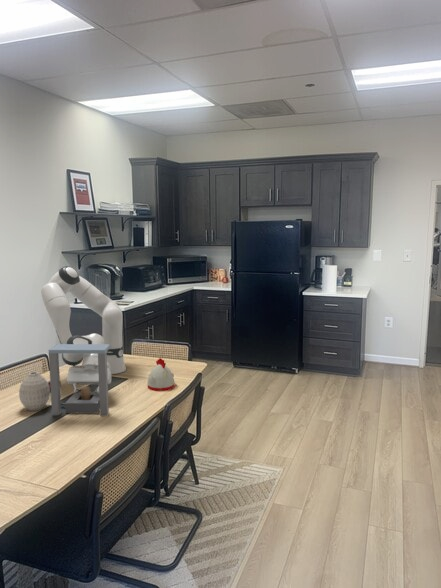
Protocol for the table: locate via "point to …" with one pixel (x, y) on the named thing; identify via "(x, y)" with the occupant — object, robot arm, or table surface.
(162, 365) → the kitchen timer
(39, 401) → the vase
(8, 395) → the table surface
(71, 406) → the socket station
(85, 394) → the peg
